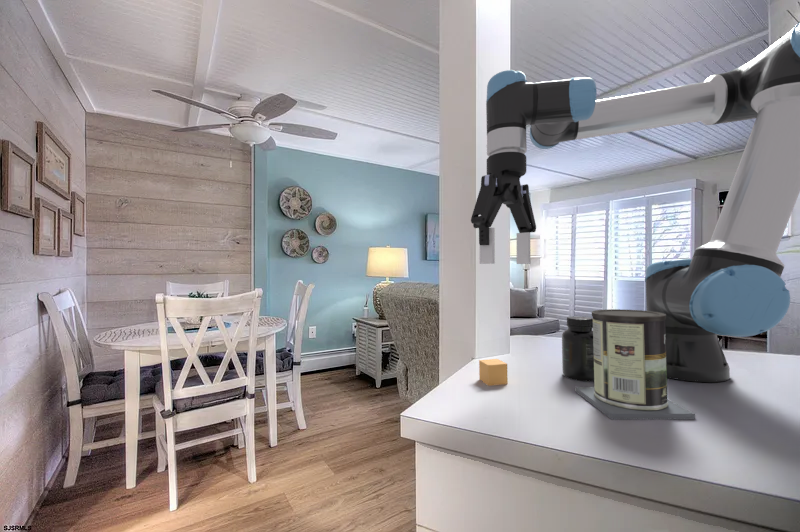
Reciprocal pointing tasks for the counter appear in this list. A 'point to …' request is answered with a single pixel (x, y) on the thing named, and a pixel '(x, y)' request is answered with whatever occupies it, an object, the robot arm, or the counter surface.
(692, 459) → the counter surface
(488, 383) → the orange cube
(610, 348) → the coffee can
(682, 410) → the slate mat
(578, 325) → the supplement bottle
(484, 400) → the counter surface
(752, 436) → the counter surface
